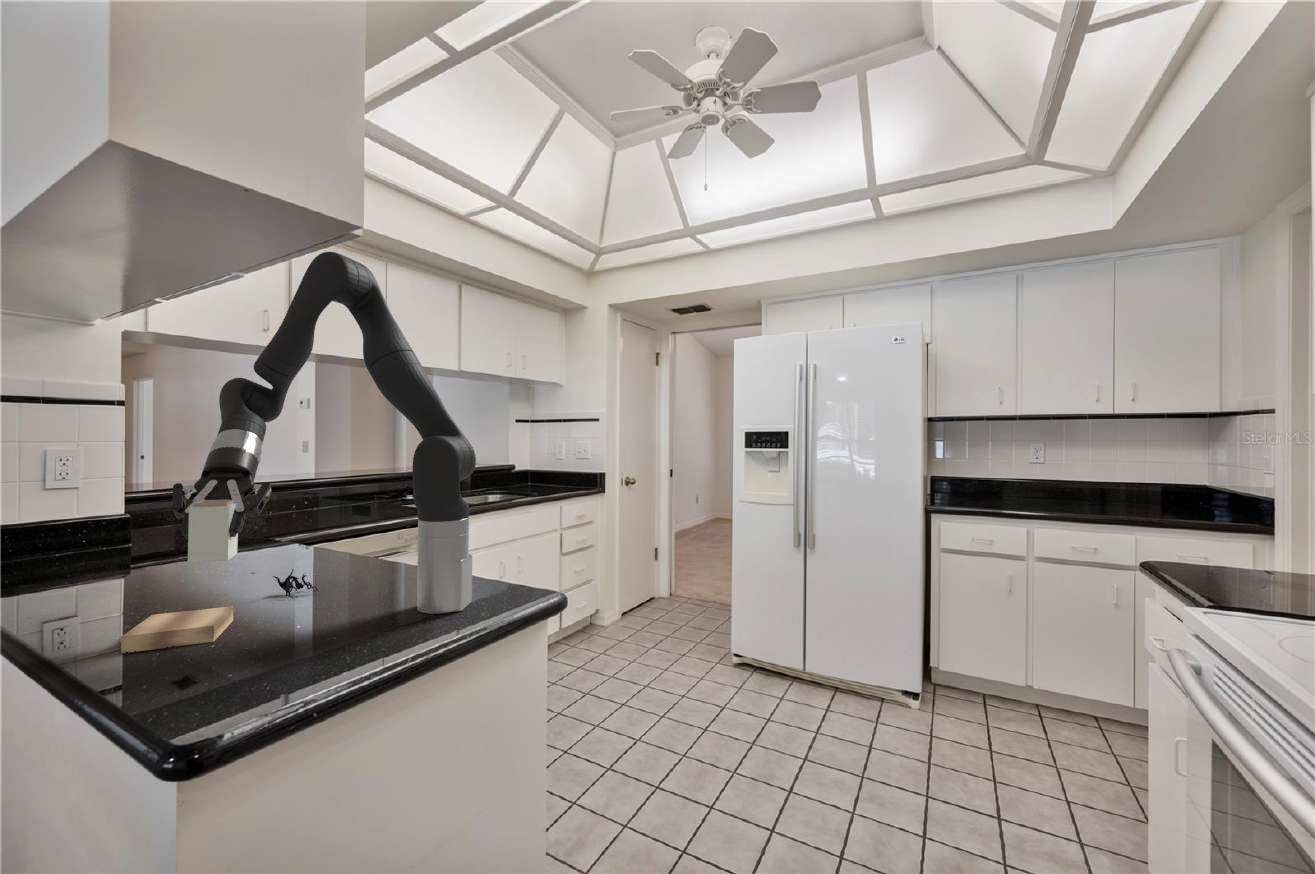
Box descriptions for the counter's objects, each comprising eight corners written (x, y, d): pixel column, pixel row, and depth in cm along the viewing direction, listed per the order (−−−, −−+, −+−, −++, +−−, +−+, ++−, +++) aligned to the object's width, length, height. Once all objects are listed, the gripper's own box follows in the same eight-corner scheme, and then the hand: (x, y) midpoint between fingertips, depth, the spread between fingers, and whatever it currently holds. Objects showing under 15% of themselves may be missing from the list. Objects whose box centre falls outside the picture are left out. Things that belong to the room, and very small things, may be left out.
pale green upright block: (237, 553, 92) (238, 498, 92) (227, 560, 87) (229, 502, 87) (199, 555, 90) (200, 499, 90) (187, 562, 85) (189, 503, 85)
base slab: (233, 622, 94) (233, 606, 94) (213, 644, 84) (213, 625, 84) (151, 632, 89) (152, 614, 89) (121, 656, 79) (121, 636, 79)
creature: (326, 594, 114) (290, 586, 114) (332, 570, 114) (296, 562, 114) (303, 606, 106) (264, 597, 106) (309, 580, 106) (270, 571, 106)
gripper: (178, 444, 92) (145, 523, 81) (277, 446, 98) (259, 519, 88) (189, 472, 97) (159, 551, 86) (283, 472, 103) (266, 545, 92)
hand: (210, 534), depth 87 cm, fingers closed on pale green upright block, 5 cm apart
